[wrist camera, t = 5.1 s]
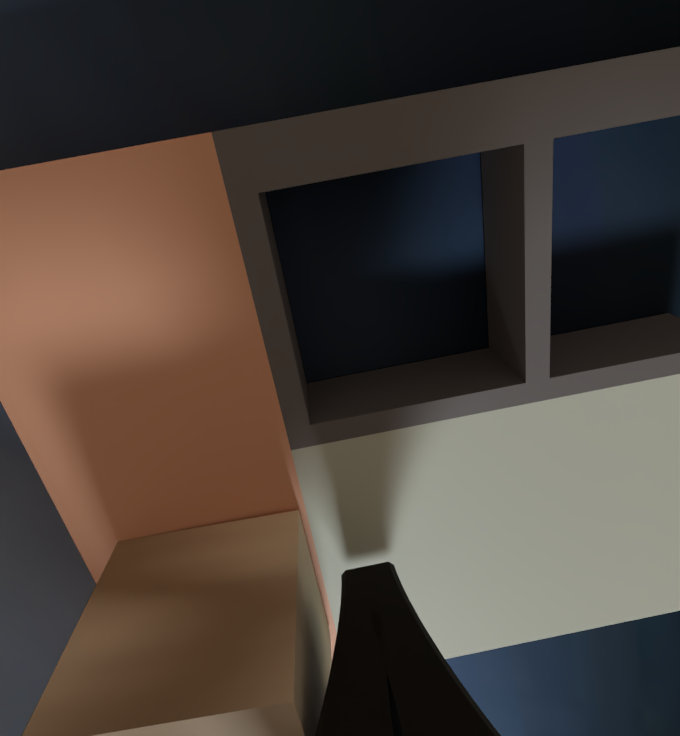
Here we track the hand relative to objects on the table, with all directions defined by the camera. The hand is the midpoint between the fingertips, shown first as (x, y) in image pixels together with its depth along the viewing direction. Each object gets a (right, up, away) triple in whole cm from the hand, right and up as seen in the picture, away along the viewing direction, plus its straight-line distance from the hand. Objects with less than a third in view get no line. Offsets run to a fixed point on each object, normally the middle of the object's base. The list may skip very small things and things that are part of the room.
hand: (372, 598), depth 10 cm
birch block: (-3, 0, +1) cm, 3 cm away
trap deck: (0, +4, +2) cm, 4 cm away
